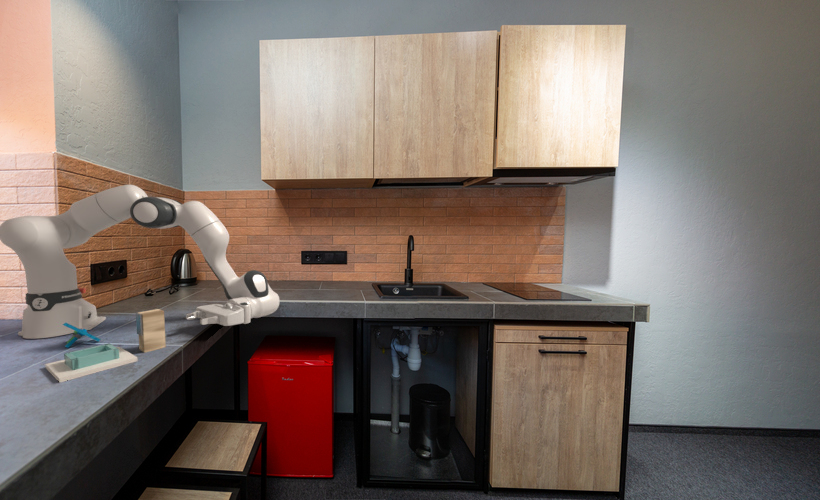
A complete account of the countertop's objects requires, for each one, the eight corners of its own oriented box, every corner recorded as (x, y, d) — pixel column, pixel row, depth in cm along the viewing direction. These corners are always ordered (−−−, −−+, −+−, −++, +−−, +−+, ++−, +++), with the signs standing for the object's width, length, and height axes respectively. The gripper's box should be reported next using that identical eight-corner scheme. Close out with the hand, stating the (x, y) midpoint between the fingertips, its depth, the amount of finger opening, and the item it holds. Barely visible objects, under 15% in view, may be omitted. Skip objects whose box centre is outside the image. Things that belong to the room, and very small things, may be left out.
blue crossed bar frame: (105, 339, 94) (69, 321, 89) (87, 357, 91) (48, 339, 85) (99, 336, 101) (65, 319, 96) (81, 353, 98) (45, 336, 92)
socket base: (45, 367, 78) (44, 354, 78) (119, 349, 90) (118, 338, 90) (59, 382, 71) (58, 367, 71) (137, 360, 83) (136, 348, 83)
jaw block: (137, 350, 90) (135, 313, 89) (160, 344, 95) (158, 308, 94) (142, 353, 88) (140, 315, 87) (165, 347, 93) (164, 310, 92)
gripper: (221, 298, 118) (178, 305, 106) (252, 305, 107) (209, 314, 95) (221, 314, 118) (179, 323, 106) (252, 323, 107) (209, 335, 96)
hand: (193, 319), depth 101 cm, fingers open, 8 cm apart
